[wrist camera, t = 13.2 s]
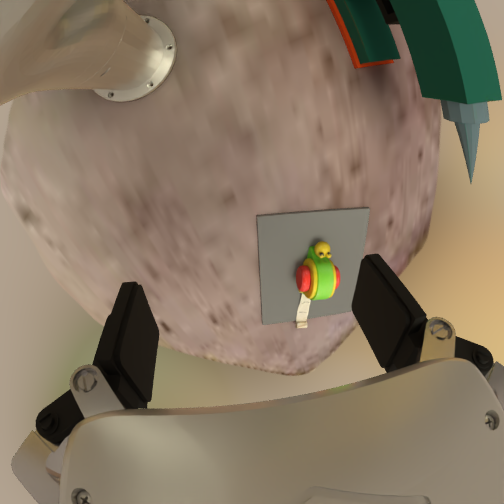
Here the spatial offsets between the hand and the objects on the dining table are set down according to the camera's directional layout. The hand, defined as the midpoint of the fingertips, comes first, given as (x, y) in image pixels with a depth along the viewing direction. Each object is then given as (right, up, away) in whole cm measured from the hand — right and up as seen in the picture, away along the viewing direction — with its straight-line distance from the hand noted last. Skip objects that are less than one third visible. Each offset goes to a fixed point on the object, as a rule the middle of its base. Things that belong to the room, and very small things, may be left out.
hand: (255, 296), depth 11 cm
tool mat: (+10, -1, +35) cm, 36 cm away
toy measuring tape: (+10, -4, +36) cm, 37 cm away
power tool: (+16, +30, +17) cm, 38 cm away
